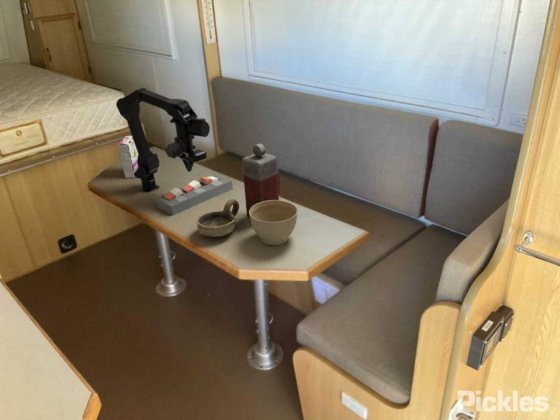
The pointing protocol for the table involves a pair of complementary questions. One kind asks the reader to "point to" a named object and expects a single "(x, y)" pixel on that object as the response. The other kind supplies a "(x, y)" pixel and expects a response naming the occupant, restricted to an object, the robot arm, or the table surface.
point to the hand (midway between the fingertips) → (189, 171)
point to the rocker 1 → (173, 194)
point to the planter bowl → (273, 220)
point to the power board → (195, 195)
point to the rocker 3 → (208, 180)
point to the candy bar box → (128, 156)
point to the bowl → (219, 220)
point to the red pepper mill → (260, 177)
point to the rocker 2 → (191, 186)
